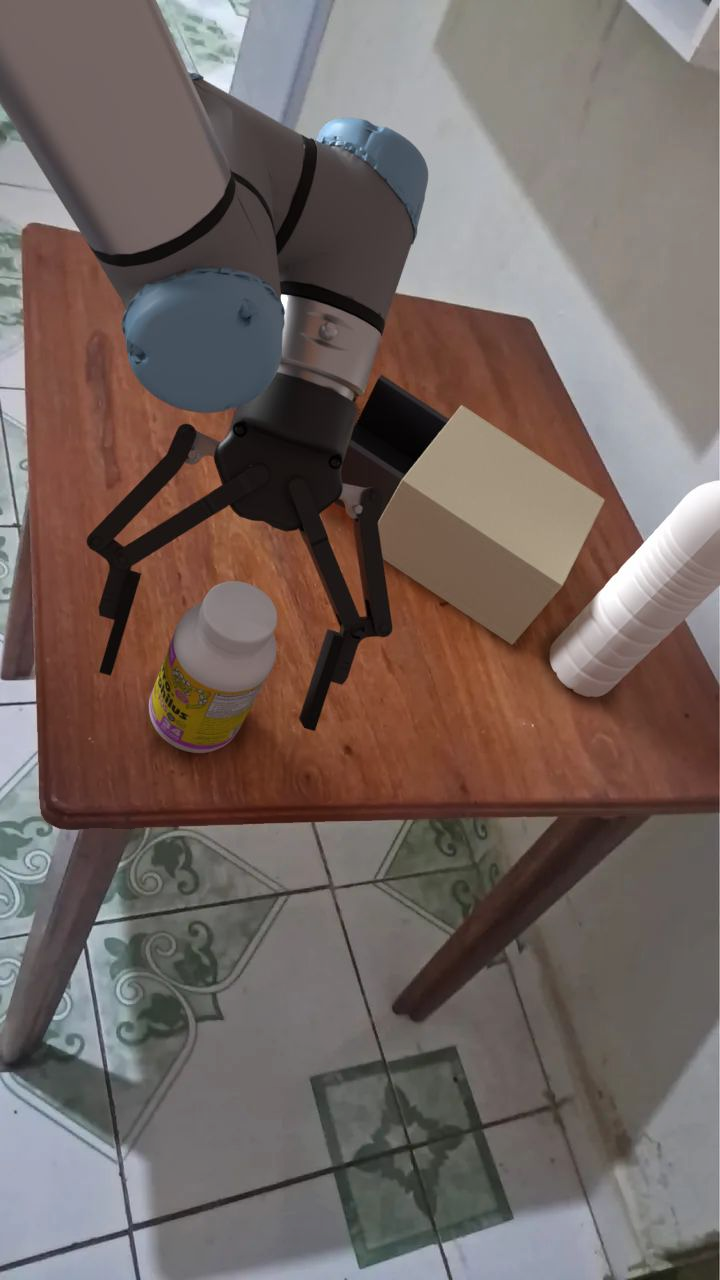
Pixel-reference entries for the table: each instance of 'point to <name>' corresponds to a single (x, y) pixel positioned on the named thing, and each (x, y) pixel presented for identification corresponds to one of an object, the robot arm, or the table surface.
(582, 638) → the water bottle
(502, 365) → the table surface
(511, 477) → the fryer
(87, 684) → the table surface
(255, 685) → the supplement bottle
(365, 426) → the dark grey drawer
